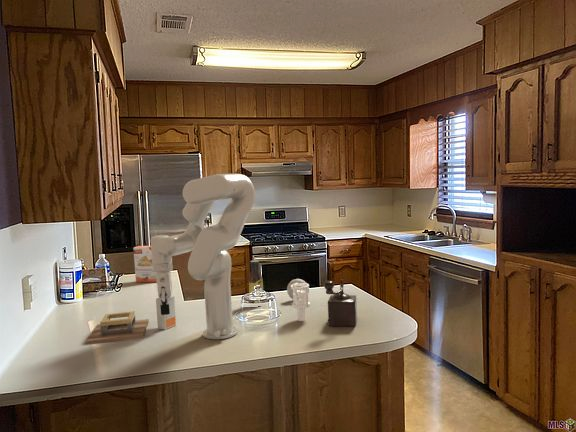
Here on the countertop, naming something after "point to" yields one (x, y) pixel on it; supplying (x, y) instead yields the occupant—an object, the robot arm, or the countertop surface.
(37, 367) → the countertop surface
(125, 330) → the frame
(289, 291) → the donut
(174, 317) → the skincare box
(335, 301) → the manual coffee grinder
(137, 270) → the cracker box
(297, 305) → the clear stepped glass cylinder
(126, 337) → the walnut board
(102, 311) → the countertop surface
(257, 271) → the sauce bottle
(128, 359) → the countertop surface
